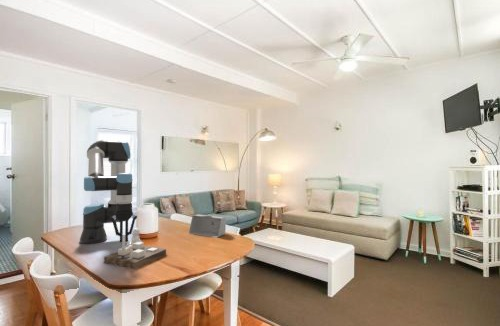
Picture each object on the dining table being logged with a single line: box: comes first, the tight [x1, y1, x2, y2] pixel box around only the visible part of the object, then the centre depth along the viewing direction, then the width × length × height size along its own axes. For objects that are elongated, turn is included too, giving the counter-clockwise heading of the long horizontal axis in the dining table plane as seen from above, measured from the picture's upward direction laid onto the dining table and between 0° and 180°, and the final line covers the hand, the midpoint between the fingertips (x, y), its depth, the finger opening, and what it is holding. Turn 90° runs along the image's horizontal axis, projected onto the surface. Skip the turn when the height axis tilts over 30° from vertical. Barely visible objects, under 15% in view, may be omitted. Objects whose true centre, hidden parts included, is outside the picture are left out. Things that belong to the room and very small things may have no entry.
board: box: [103, 245, 167, 270], centre depth 145 cm, size 20×22×4 cm
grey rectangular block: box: [188, 213, 227, 239], centre depth 199 cm, size 25×16×12 cm, turn 64°
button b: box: [132, 249, 144, 259], centre depth 139 cm, size 4×4×4 cm
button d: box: [147, 247, 159, 253], centre depth 148 cm, size 4×4×4 cm
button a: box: [117, 246, 130, 256], centre depth 143 cm, size 4×4×4 cm
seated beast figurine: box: [126, 227, 143, 248], centre depth 163 cm, size 10×9×12 cm
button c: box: [133, 241, 145, 250], centre depth 152 cm, size 4×4×4 cm
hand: (123, 248), depth 143 cm, fingers closed
